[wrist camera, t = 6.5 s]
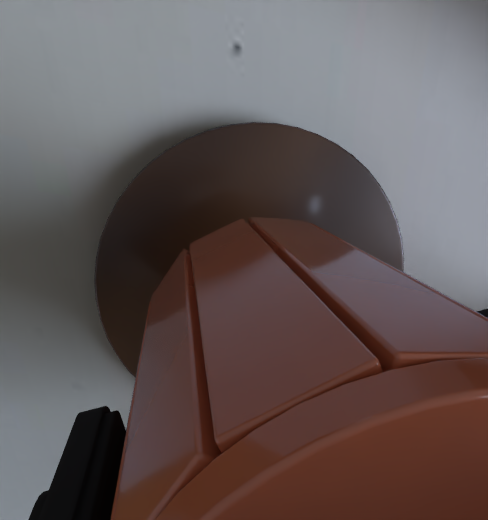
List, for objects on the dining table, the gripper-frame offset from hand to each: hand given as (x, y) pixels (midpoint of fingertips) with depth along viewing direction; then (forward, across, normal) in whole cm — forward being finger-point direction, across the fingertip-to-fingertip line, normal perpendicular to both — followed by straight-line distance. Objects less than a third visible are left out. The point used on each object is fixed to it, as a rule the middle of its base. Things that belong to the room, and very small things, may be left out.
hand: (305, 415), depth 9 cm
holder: (+9, -1, 0) cm, 9 cm away
